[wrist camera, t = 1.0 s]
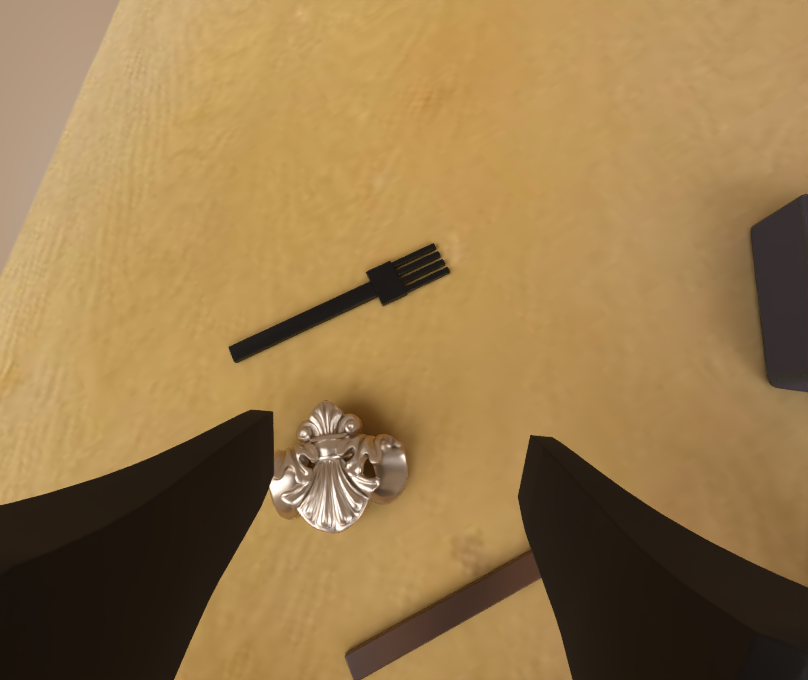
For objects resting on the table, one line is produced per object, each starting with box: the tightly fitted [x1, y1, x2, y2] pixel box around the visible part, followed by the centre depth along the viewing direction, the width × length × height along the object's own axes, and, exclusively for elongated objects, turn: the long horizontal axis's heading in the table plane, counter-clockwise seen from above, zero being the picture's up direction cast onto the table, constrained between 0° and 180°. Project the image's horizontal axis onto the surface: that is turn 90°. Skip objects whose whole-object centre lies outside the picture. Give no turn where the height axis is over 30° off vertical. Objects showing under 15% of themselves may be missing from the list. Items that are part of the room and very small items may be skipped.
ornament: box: [269, 400, 408, 533], centre depth 22 cm, size 8×7×4 cm
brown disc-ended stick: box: [345, 550, 541, 680], centre depth 21 cm, size 15×4×1 cm, turn 116°
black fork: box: [229, 243, 450, 363], centre depth 26 cm, size 15×3×1 cm, turn 116°
